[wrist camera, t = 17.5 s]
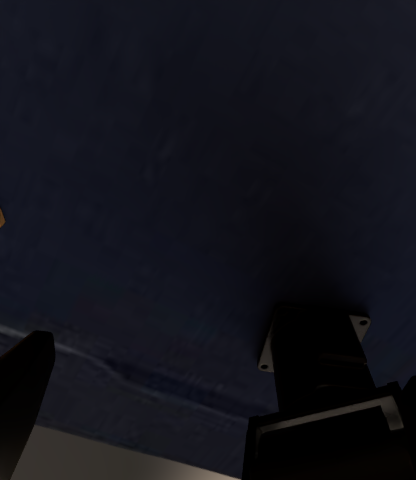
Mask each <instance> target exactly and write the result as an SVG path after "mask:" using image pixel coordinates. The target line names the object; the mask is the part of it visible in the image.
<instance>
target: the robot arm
mask: <svg viewBox="0 0 416 480" xmlns="http://www.w3.org/2000/svg"><path fill="white" fill-rule="evenodd" d="M283 309H284V311H280V310H283ZM362 320H363V321H362ZM370 324H371V319H370V317H369V315H368V314H366V313H361V312H353V311H346V310H338V309H330V308H322V307H314V306H306V305H298V304H291V303H278V304H277V305H276V306H275V307H274V310H273V314H272V317H271V320H270V323H269V326H268V329H267V332H266V336H265V339H264V342H263V345H262V348H261V351H260V354H259V358H258V361H257V366H258V369H259V370H261V371H267V372H274V377H275V385H276V392H277V399H278V406H279V412H276V413H272V414H268V415H264V416H260V417H259V416H258V415H257V416H253V417H249V423H248V430H247V435H246V444H245V453H244V463H243V472H242V480H416V375H415V376H412V377H411V378H410V380H409V381H408V383H407V384H406V385H405V387H404V388H403V390H401V388H400V386H399V384H398V382H397V381H395V382H391V383H387V385H386V386H382V387H378V388H376V387H375V384H374V381H373V379H372V376H371V374H370V371H369V369H368V366H367V364H366V363H367V359H366V357H365V354H364V351H363V349H362V346H361V344H360V343H361V341H362V340H363V338H364V336H365V334H366V332H367V330H368V328H369V326H370ZM54 362H55V346H54V337H53V334H52V333H51V332H47V331H39V330H36V331H33V332H32V333H30V334H29V335H28V336H27V337H25V338H24V339H23V340H21V341H20V342H19V343H18V344H16V345H15V346H14V347H13V348H11V349H10V350H9V351H7V352H6V353H5V354H4V355H2V356H1V357H0V480H10V479H11V476H12V474H13V472H14V470H15V468H16V465H17V463H18V461H19V459H20V456H21V454H22V452H23V450H24V447H25V445H26V443H27V441H28V438H29V436H30V434H31V432H32V429H33V427H34V424H35V421H36V418H37V415H38V412H39V409H40V406H41V403H42V400H43V397H44V394H45V391H46V388H47V385H48V381H49V378H50V375H51V372H52V369H53V366H54ZM263 364H264V365H263Z"/></svg>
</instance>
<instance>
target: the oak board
mask: <svg viewBox="0 0 416 480" xmlns="http://www.w3.org/2000/svg"><path fill="white" fill-rule="evenodd" d="M4 223H5V219H4V216H3V214H2V211H1V208H0V228H1V227H2V226H3V225H4Z"/></svg>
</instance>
